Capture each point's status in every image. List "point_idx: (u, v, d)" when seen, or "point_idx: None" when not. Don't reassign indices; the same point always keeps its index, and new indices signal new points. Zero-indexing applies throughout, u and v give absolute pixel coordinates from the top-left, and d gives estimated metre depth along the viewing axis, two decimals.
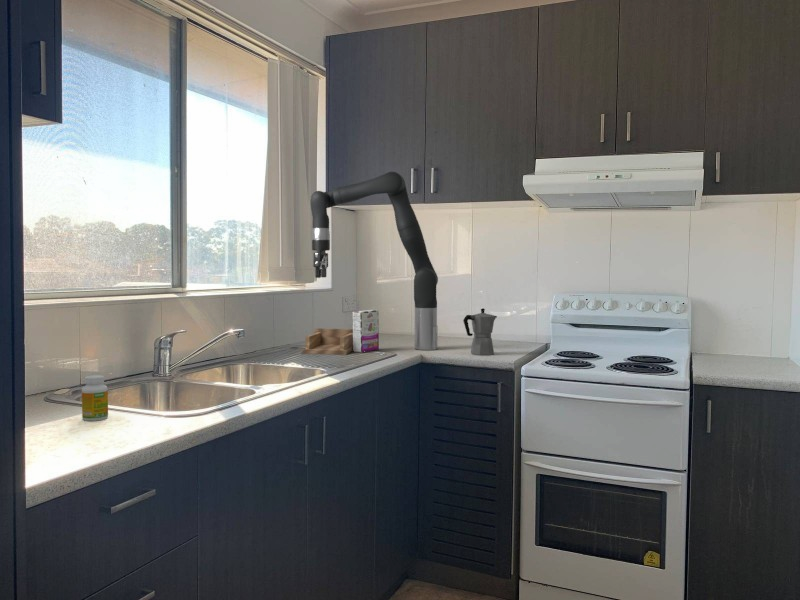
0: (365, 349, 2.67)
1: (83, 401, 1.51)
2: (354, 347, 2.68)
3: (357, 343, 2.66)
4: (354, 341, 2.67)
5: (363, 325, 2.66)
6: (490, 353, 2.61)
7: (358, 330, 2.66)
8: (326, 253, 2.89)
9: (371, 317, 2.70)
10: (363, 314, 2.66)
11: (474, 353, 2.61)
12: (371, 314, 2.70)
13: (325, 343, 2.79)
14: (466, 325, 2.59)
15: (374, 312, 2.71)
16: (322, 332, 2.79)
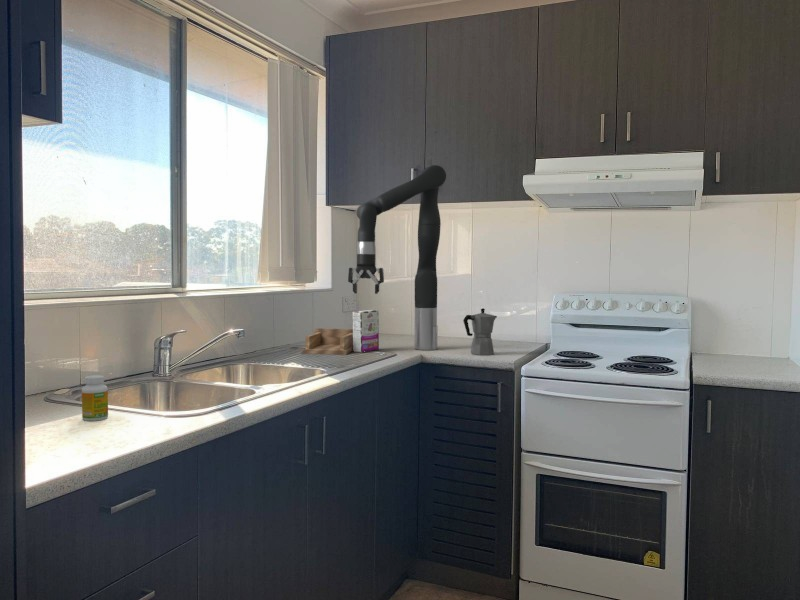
0: (365, 349, 2.67)
1: (83, 401, 1.51)
2: (354, 347, 2.68)
3: (357, 343, 2.66)
4: (354, 341, 2.67)
5: (363, 325, 2.66)
6: (490, 353, 2.61)
7: (358, 330, 2.66)
8: None
9: (371, 317, 2.70)
10: (363, 314, 2.66)
11: (474, 353, 2.61)
12: (371, 314, 2.70)
13: (325, 343, 2.79)
14: (466, 325, 2.59)
15: (374, 312, 2.71)
16: (322, 332, 2.79)
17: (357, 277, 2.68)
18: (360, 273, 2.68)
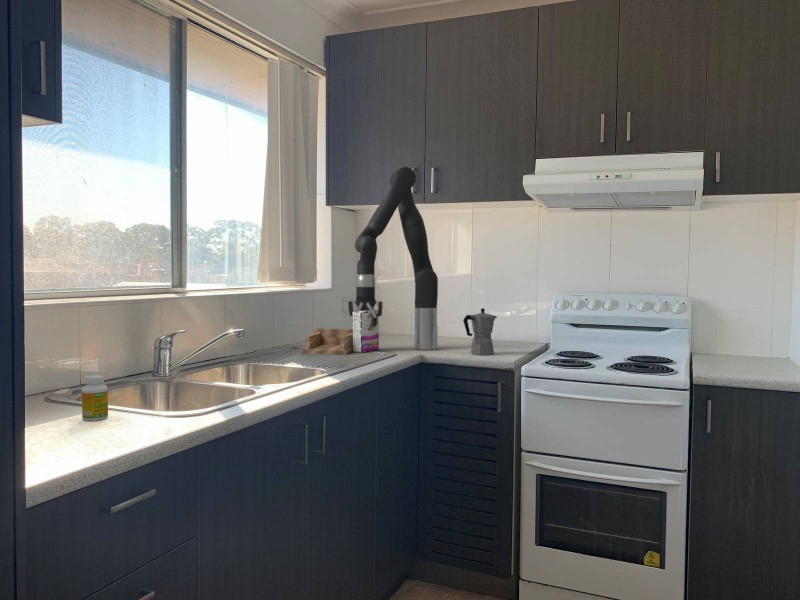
0: (365, 349, 2.67)
1: (83, 401, 1.51)
2: (354, 347, 2.68)
3: (357, 343, 2.66)
4: (354, 341, 2.67)
5: (363, 325, 2.66)
6: (490, 353, 2.61)
7: (358, 330, 2.66)
8: (351, 301, 2.72)
9: (371, 317, 2.70)
10: (363, 314, 2.66)
11: (474, 353, 2.61)
12: (371, 314, 2.70)
13: (325, 343, 2.79)
14: (466, 325, 2.59)
15: None
16: (322, 332, 2.79)
17: (358, 310, 2.69)
18: (360, 306, 2.69)
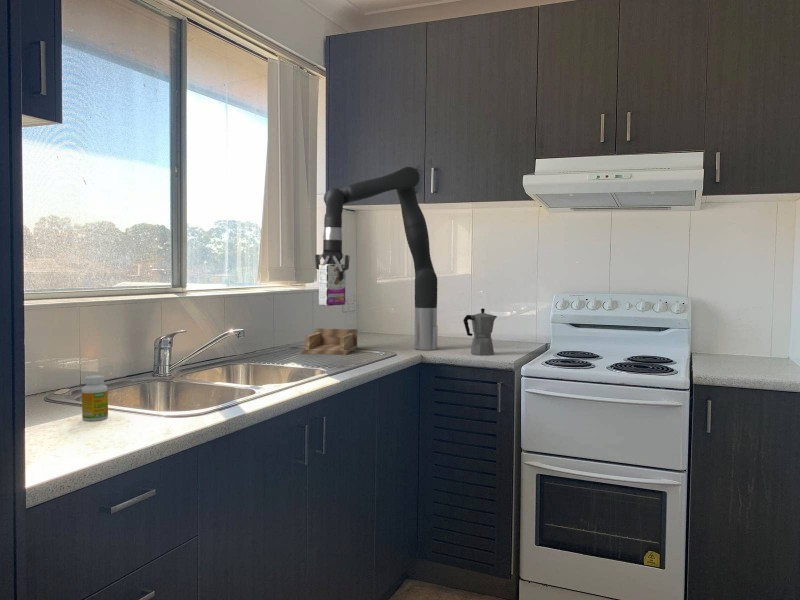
0: (331, 302, 2.66)
1: (83, 401, 1.51)
2: (320, 300, 2.66)
3: (322, 296, 2.65)
4: (320, 294, 2.66)
5: (329, 278, 2.64)
6: (490, 353, 2.61)
7: (324, 283, 2.64)
8: None
9: (338, 270, 2.68)
10: (330, 267, 2.64)
11: (474, 353, 2.61)
12: (338, 268, 2.68)
13: (325, 343, 2.79)
14: (466, 325, 2.59)
15: None
16: (322, 332, 2.79)
17: (324, 263, 2.67)
18: (326, 259, 2.67)
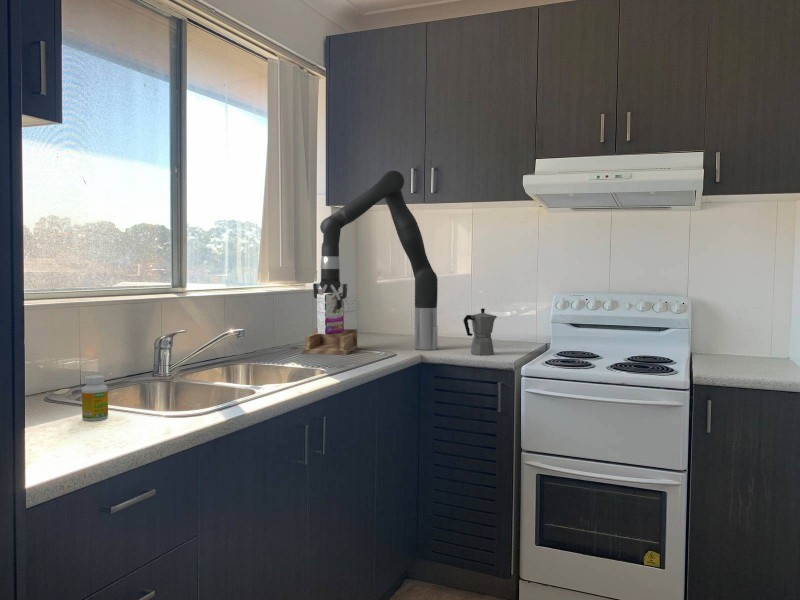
0: (329, 331, 2.66)
1: (83, 401, 1.51)
2: (318, 329, 2.67)
3: (321, 325, 2.66)
4: (318, 323, 2.66)
5: (327, 307, 2.65)
6: (490, 353, 2.61)
7: (322, 312, 2.65)
8: (316, 283, 2.71)
9: (336, 299, 2.69)
10: (328, 296, 2.65)
11: (474, 353, 2.61)
12: None
13: (325, 343, 2.79)
14: (466, 325, 2.59)
15: None
16: None
17: (322, 292, 2.68)
18: (324, 288, 2.68)
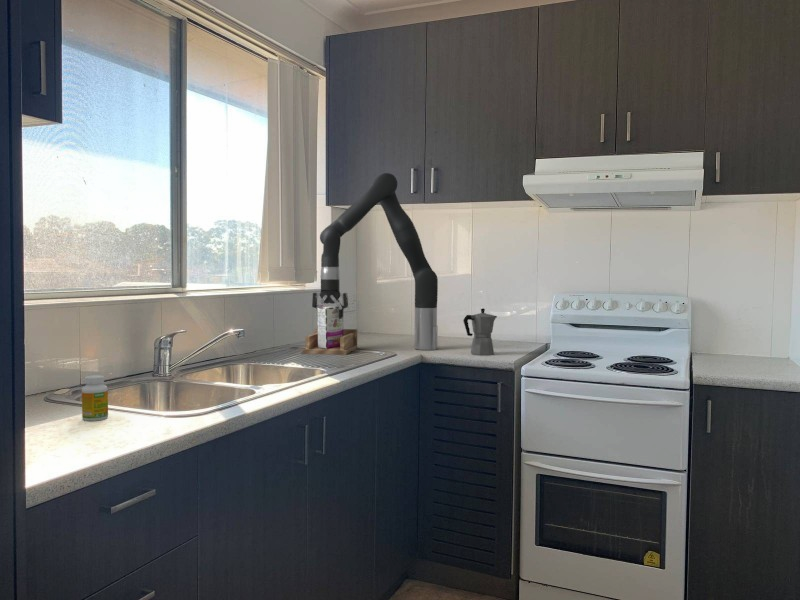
0: (330, 345, 2.67)
1: (83, 401, 1.51)
2: (319, 343, 2.67)
3: (322, 339, 2.66)
4: (319, 337, 2.67)
5: (328, 321, 2.65)
6: (490, 353, 2.61)
7: (323, 326, 2.65)
8: None
9: (336, 313, 2.69)
10: (329, 310, 2.65)
11: (474, 353, 2.61)
12: (336, 310, 2.69)
13: None
14: (466, 325, 2.59)
15: None
16: None
17: (321, 302, 2.68)
18: (324, 298, 2.68)
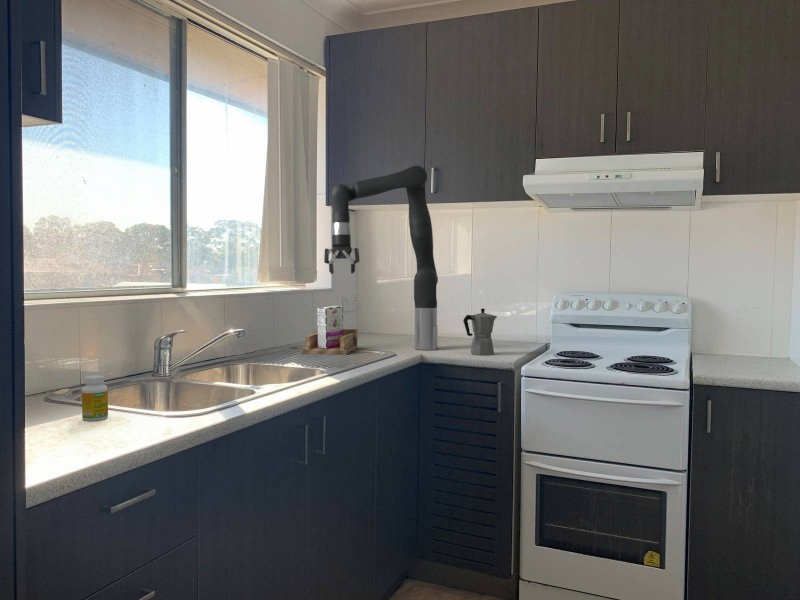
0: (330, 345, 2.67)
1: (83, 401, 1.51)
2: (319, 343, 2.67)
3: (322, 339, 2.66)
4: (319, 337, 2.67)
5: (328, 321, 2.65)
6: (490, 353, 2.61)
7: (323, 326, 2.65)
8: None
9: (336, 313, 2.69)
10: (328, 310, 2.65)
11: (474, 353, 2.61)
12: (336, 310, 2.69)
13: None
14: (466, 325, 2.59)
15: (339, 308, 2.71)
16: None
17: (333, 257, 2.74)
18: (336, 253, 2.73)
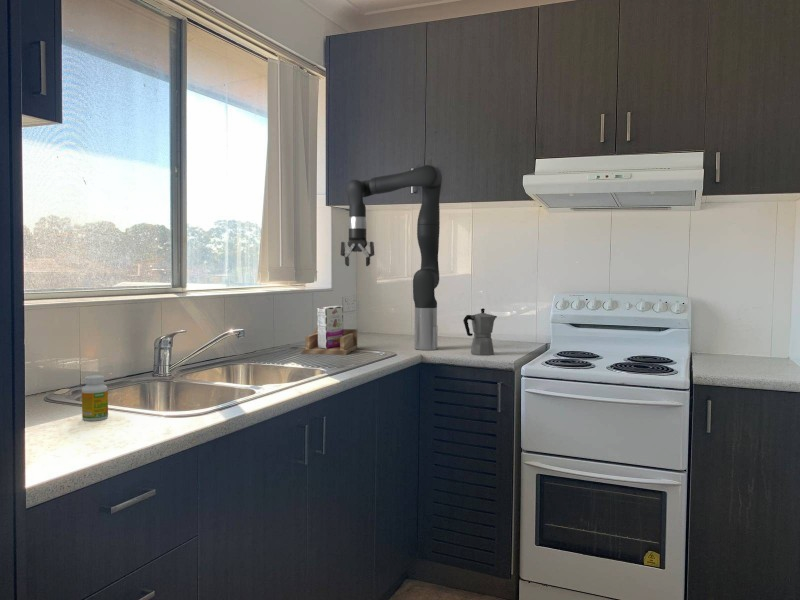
0: (330, 345, 2.67)
1: (83, 401, 1.51)
2: (319, 343, 2.67)
3: (322, 339, 2.66)
4: (319, 337, 2.67)
5: (328, 321, 2.65)
6: (490, 353, 2.61)
7: (323, 326, 2.65)
8: (344, 242, 2.86)
9: (336, 313, 2.69)
10: (328, 310, 2.65)
11: (474, 353, 2.61)
12: (336, 310, 2.69)
13: None
14: (466, 325, 2.59)
15: (339, 308, 2.71)
16: None
17: (349, 250, 2.84)
18: (352, 247, 2.83)
